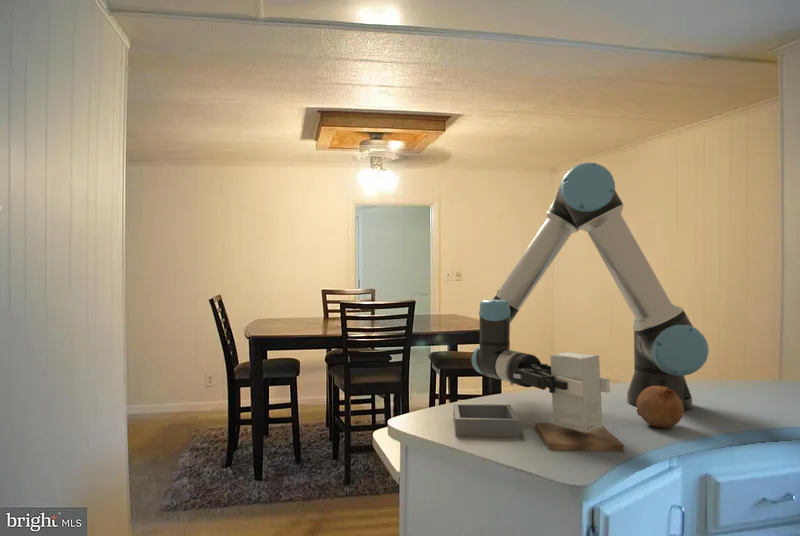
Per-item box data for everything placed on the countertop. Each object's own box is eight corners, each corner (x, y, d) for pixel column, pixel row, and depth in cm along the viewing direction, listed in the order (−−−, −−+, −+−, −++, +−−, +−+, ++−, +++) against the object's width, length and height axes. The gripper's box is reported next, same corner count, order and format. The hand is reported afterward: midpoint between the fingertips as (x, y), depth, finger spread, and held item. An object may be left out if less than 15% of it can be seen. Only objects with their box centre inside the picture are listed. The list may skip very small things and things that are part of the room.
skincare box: (603, 429, 106) (603, 355, 106) (583, 434, 103) (583, 357, 103) (568, 420, 113) (568, 350, 113) (549, 424, 110) (549, 352, 110)
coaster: (600, 429, 114) (600, 424, 115) (623, 451, 101) (623, 444, 101) (535, 428, 115) (535, 422, 115) (548, 449, 101) (548, 443, 101)
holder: (510, 419, 122) (510, 404, 122) (518, 437, 109) (518, 420, 109) (453, 418, 123) (453, 403, 123) (455, 435, 110) (455, 419, 110)
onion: (674, 444, 114) (689, 408, 110) (629, 427, 118) (641, 391, 113) (676, 418, 122) (690, 383, 117) (633, 403, 125) (645, 369, 121)
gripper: (551, 380, 128) (630, 401, 108) (485, 388, 120) (557, 412, 99) (551, 349, 129) (630, 364, 108) (485, 355, 120) (557, 372, 99)
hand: (595, 387), depth 104 cm, fingers closed on skincare box, 6 cm apart
